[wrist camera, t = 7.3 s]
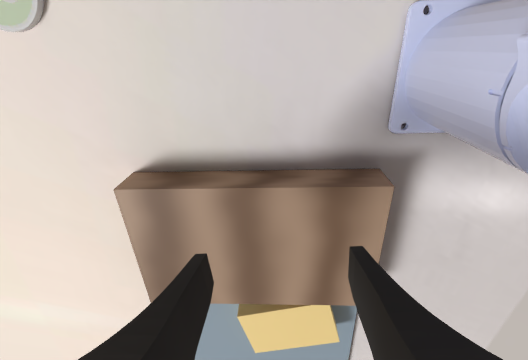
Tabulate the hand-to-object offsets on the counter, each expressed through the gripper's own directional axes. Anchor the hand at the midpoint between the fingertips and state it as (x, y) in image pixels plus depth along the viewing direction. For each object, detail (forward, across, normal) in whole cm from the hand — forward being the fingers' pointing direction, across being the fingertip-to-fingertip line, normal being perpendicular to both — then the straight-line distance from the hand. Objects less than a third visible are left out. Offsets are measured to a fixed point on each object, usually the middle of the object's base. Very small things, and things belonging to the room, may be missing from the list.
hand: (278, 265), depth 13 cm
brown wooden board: (+9, +2, +5) cm, 11 cm away
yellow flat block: (+9, 0, +15) cm, 18 cm away
